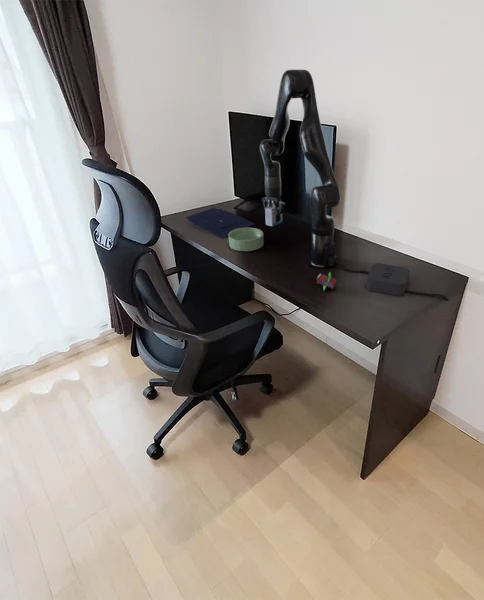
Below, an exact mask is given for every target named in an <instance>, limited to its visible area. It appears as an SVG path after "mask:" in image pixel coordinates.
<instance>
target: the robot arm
mask: <svg viewBox="0 0 484 600" xmlns="http://www.w3.org/2000/svg"><path fill="white" fill-rule="evenodd" d="M315 90H316V89H315V84H314V79H313V77H312V74H311V73H310V71H309V70H307V69H287V70H285V71H284V72H283V74H282V76H281V79H280V83H279V88H278V94H277V100H276V107H275V112H274V116H273V119H272V122H271V125H270V128H269V131H268V135H269V139H263V140H262V141H261V142H260V144H259V151H260V155H261V158H262V162H263V165H264V194H265V196H264V197H261V202H262V205H263V209H264V211H265V208H267V207H270V206H271V207H273V208H274V209H275V212H276V222H279V221H280V214H282V215H283V214H284V213H285V209H286V201H282V199H281V196H282V178H281V163H280V162H279V161H276V160H272V157H278V156H280V155H282V154H283V153H284V150H285V139H286V135H287V133H288V131H289V127H290V123H291V119H290V114H289V109H288V107H289V104H290V101H292V99H301V102H302V108H303V117H302V120H301V121H302V122H301V125H300V129H299V141H300V146H301V150H302V154H303V155H304V157H305V158H306V160H307V162H308V163H310V165H311V166H312V167H313V168H314V169H315V171H316V172H317V174H318V175H319V178H320V182H321V185H320V184H319V185H317V186H313V188H312V189H310V193H309V215H310V220H311V237H310V238H311V242H310V244H311V245H310V265H311V266H313V267H315V268H320V269H327V268H329V267H333V266H335V265H336V264H338V265H339V266H342V267H343V268H344V269H345V270H346V271H347V272H350V273H365V274H368V273H369V272H370V270H369V271H368V270H355V269H349V268H348V267H347V266H346V265H344V263H342V262H340V261H339V255H335V254H336V243H335V242H334V236H335V221H336V220H335V218H334V217H333V216H331V215H328V214H327V210H329V209H332V208H335V207H338V206H339V205H340V202H341V191H340V188H339V184H338V182H337V179H336V176H335V173H334V170H333V167H332V164H331V159H330V155H329V152H328V147H327V142H326V139H325V133H324V131H323V128H322V127H323V126H322V122H321V119H320V113H319V109H318V102H317V96H316V91H315ZM276 207H278V208H276ZM277 210H278V211H277ZM405 293H408V294H416V295H422V296H428V297H440V298H443V299H444V300H445V301H446V302H449V301H450V299H449V298H448V297H447V296H446V295H444V294H441V293H428V292H422V291H414V290H407V289H406V290H405ZM441 357H442V355H441V354H438V356H437V360H436V363H435V367H434V371H433V373H434V374H437V370H438V367H439V363H440V359H441Z"/></svg>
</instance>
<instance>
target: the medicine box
mask: <svg viewBox="0 0 484 600" xmlns="http://www.w3.org/2000/svg"><path fill="white" fill-rule="evenodd" d="M266 207H267V206H266ZM276 208H278V207H276ZM277 211H278V210H277ZM264 214H265V225H266V226H267V227H268V226H269V227H276V226H278V225H280V224H283V214H280V221H279V222H276V212H275V209H274V208H273V207H271V206H270V207H267V208H265V210H264Z"/></svg>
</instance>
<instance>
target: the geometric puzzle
mask: <svg viewBox="0 0 484 600" xmlns="http://www.w3.org/2000/svg"><path fill="white" fill-rule="evenodd" d="M326 274H328V275H326ZM337 281H338V279H337V278H336V277H333V276H332V272H328V271H327V272H325V273H319V274H318V275H317V276H316V284H317V285H320V286H322V288H321V287H320V286H319V287H320V288H321V289H322V290H323V291H324V292H325V291H326V292H327V291H328V289H331V290H333V289H334V288H335V285H336V283H337ZM326 288H328V289H326Z"/></svg>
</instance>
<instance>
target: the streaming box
mask: <svg viewBox="0 0 484 600" xmlns="http://www.w3.org/2000/svg"><path fill="white" fill-rule="evenodd" d="M410 273H411V271H410V269H409V268H408V267H403V266H399V265H398V266H397V265H394V264H393V265H392V264H386V263H380V262H379V263H378V262H377V263H373V264H372V265H371V268H370V270H369V273H367V278H366V285H365V286H366V289H368V291H373V292H377V293H383V294H386V295H387V294H388V295H393V296H403V295H404V294H405V293H406V292H405V290H407V287H408V284H409V278H410Z"/></svg>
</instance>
